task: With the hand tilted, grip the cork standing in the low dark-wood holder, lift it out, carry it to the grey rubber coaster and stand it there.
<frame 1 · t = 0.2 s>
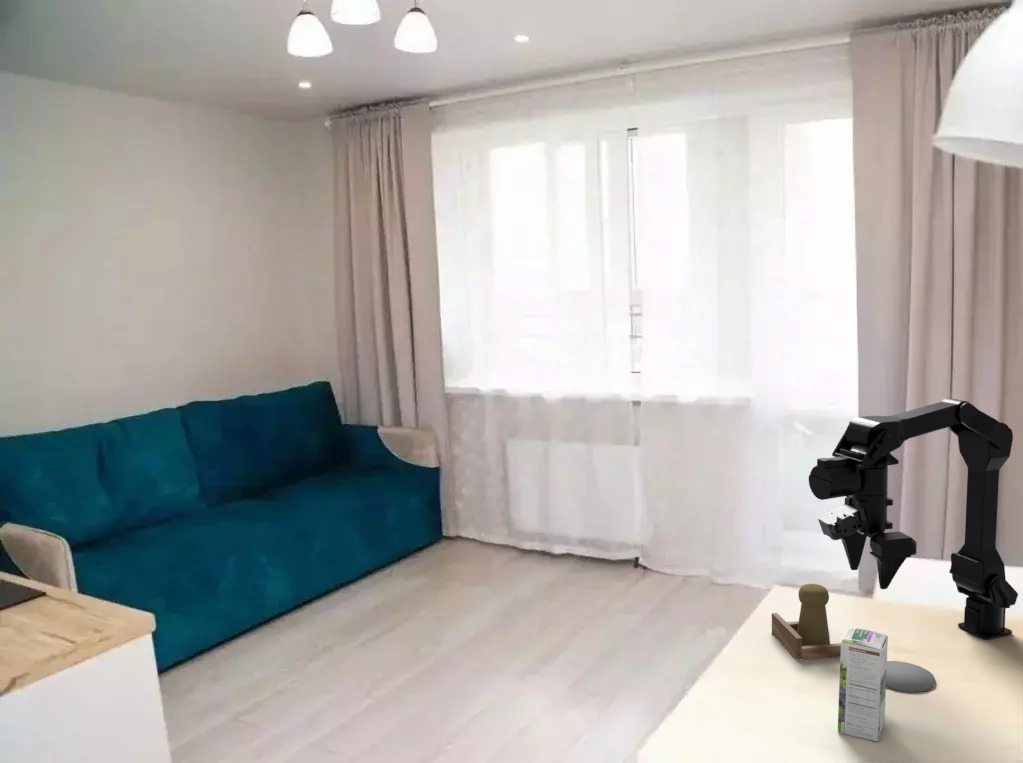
hand: (868, 579, 149), 14 cm above the table, tool pointing down, fingers open, 9 cm apart
cork: (812, 645, 157), on the table
coaster: (901, 677, 143), on the table
syrup box: (861, 730, 128), on the table
holder: (812, 644, 157), on the table
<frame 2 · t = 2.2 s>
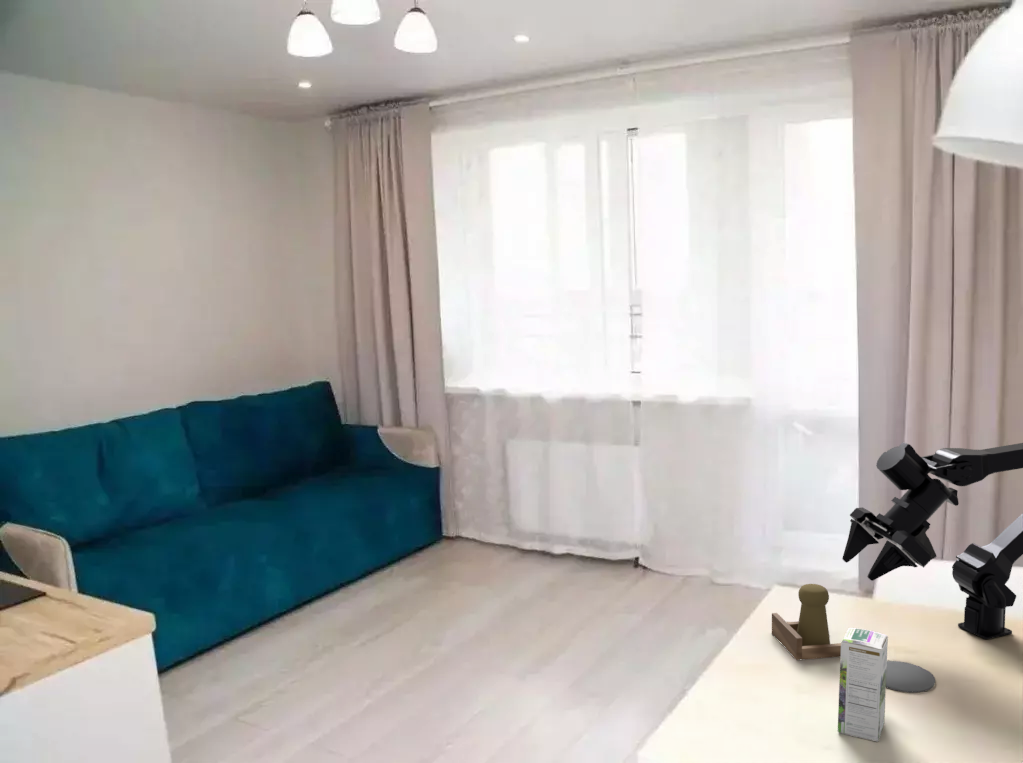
hand: (856, 569, 155), 13 cm above the table, tool tilted 45°, fingers open, 9 cm apart
nothing on the table moved.
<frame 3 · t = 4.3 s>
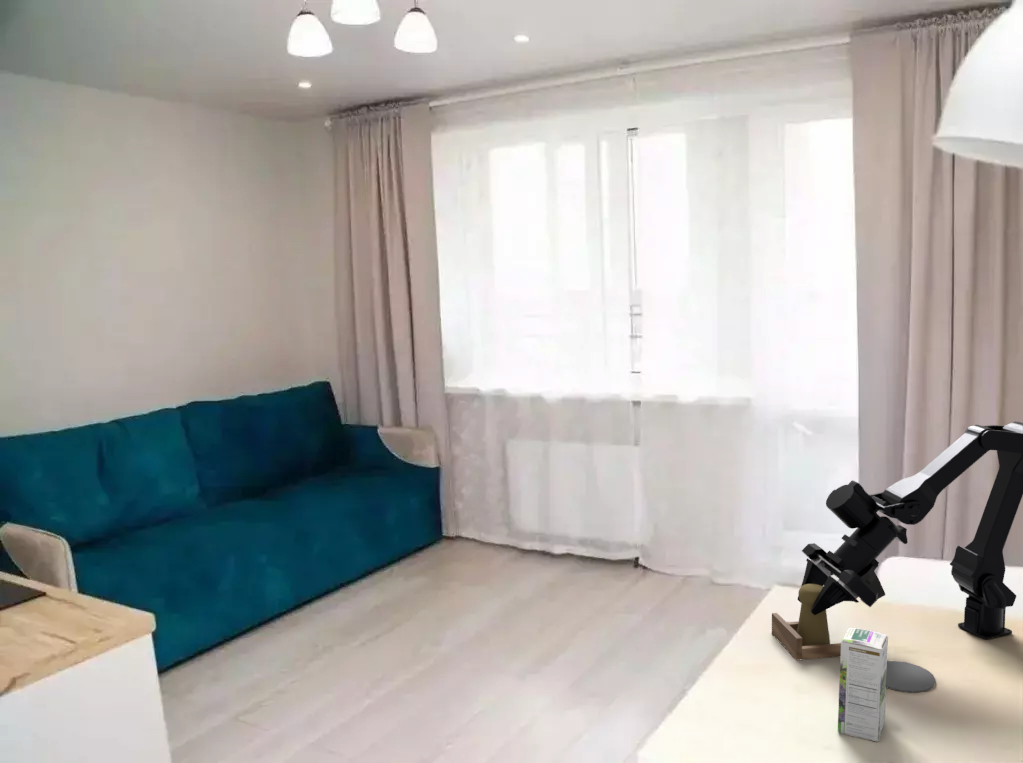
hand: (805, 607, 155), 7 cm above the table, tool tilted 45°, fingers closed on cork, 5 cm apart
cork: (812, 645, 157), on the table, touching gripper
everything else where it was.
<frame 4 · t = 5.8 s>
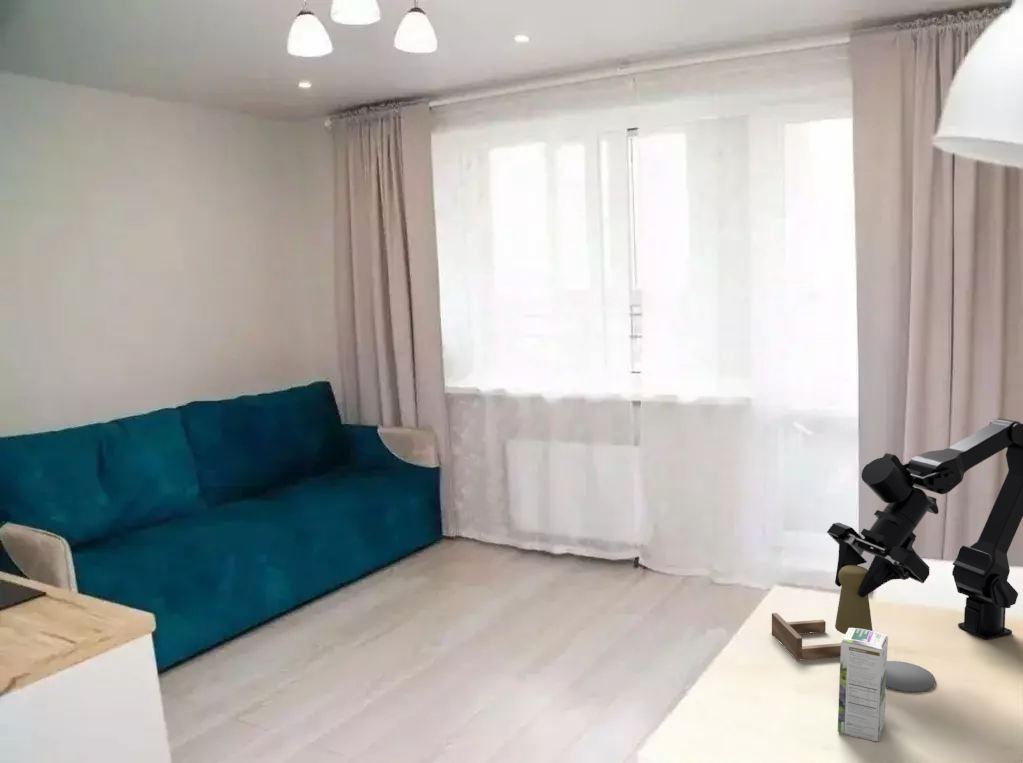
hand: (848, 590, 147), 13 cm above the table, tool tilted 45°, fingers closed on cork, 5 cm apart
cork: (853, 629, 149), point 6 cm above the table, touching gripper
everything else where it was.
when the fingers open (8 cm above the table, at t = 7.6 s): cork stays where it is, resting on coaster.
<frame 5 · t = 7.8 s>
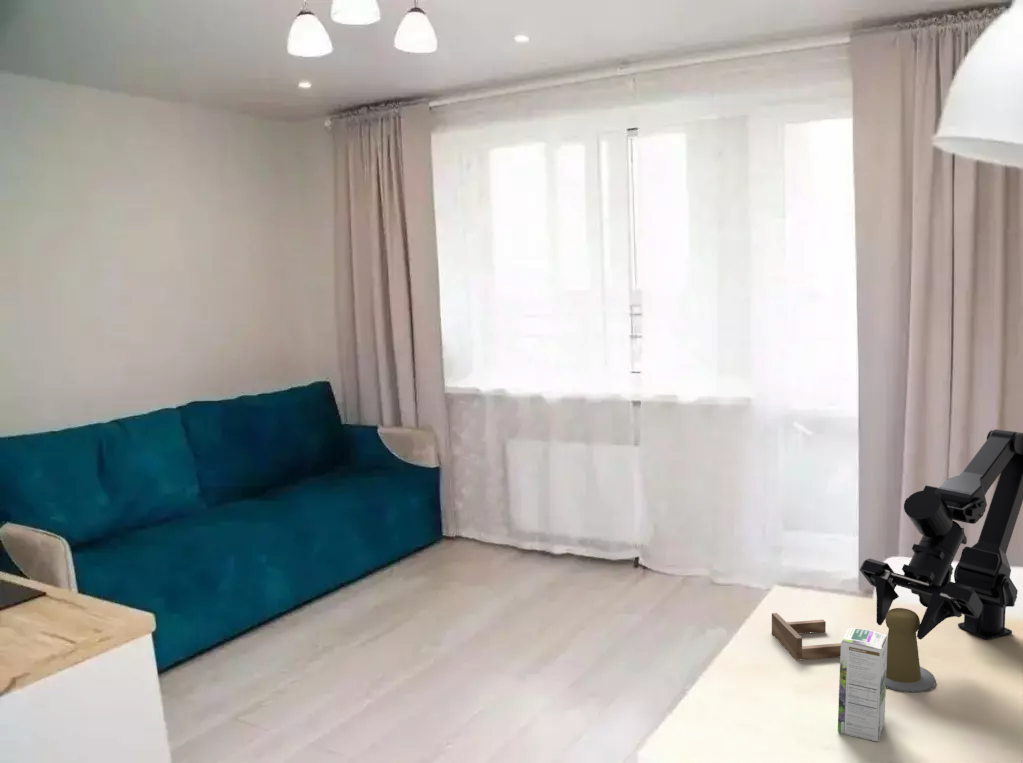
hand: (898, 631, 141), 9 cm above the table, tool tilted 45°, fingers open, 7 cm apart
cork: (901, 675, 143), resting on coaster
everything else where it was.
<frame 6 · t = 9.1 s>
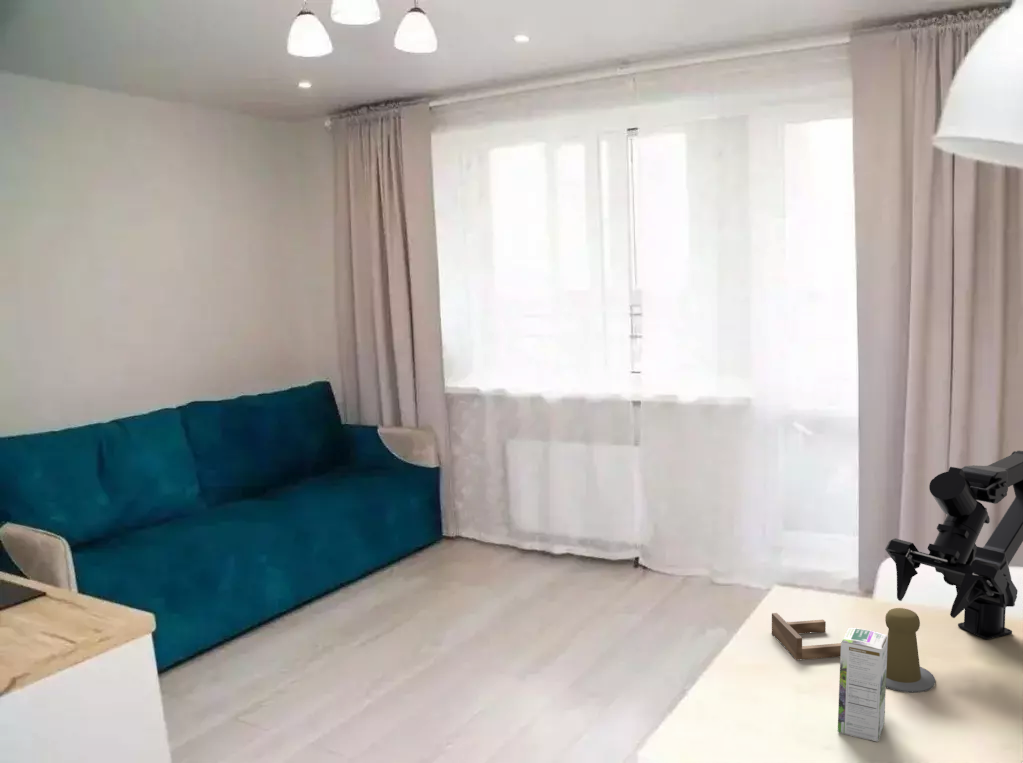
hand: (924, 608, 146), 10 cm above the table, tool tilted 45°, fingers open, 9 cm apart
nothing on the table moved.
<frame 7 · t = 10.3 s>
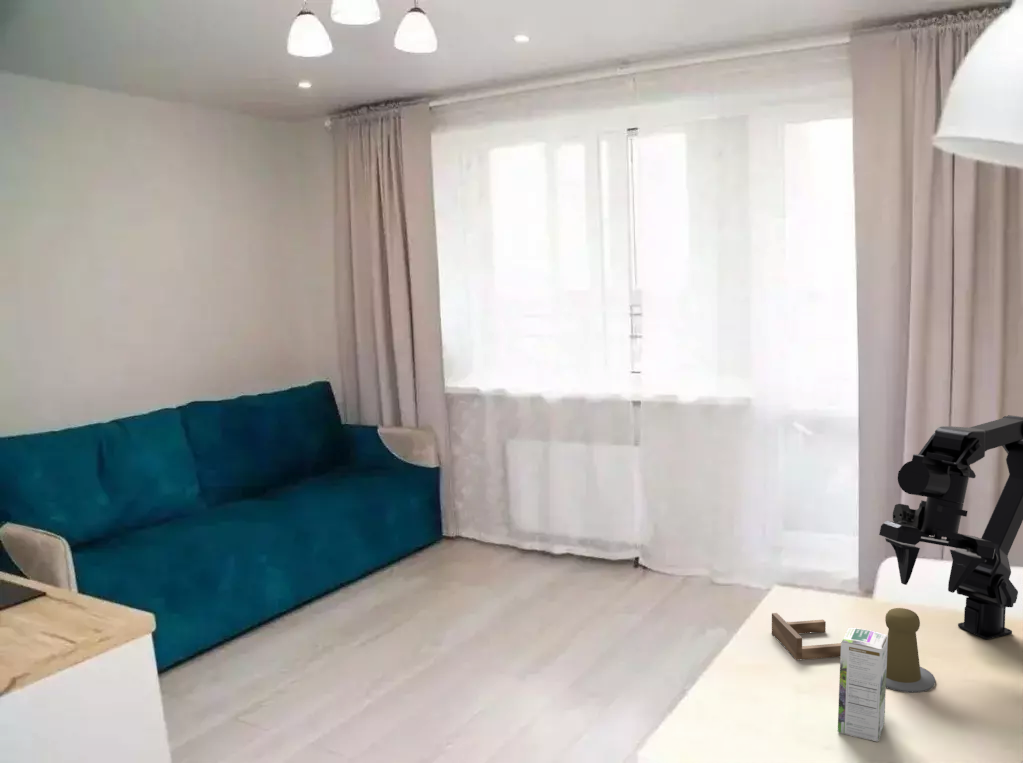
hand: (927, 588, 149), 12 cm above the table, tool tilted 15°, fingers open, 9 cm apart
nothing on the table moved.
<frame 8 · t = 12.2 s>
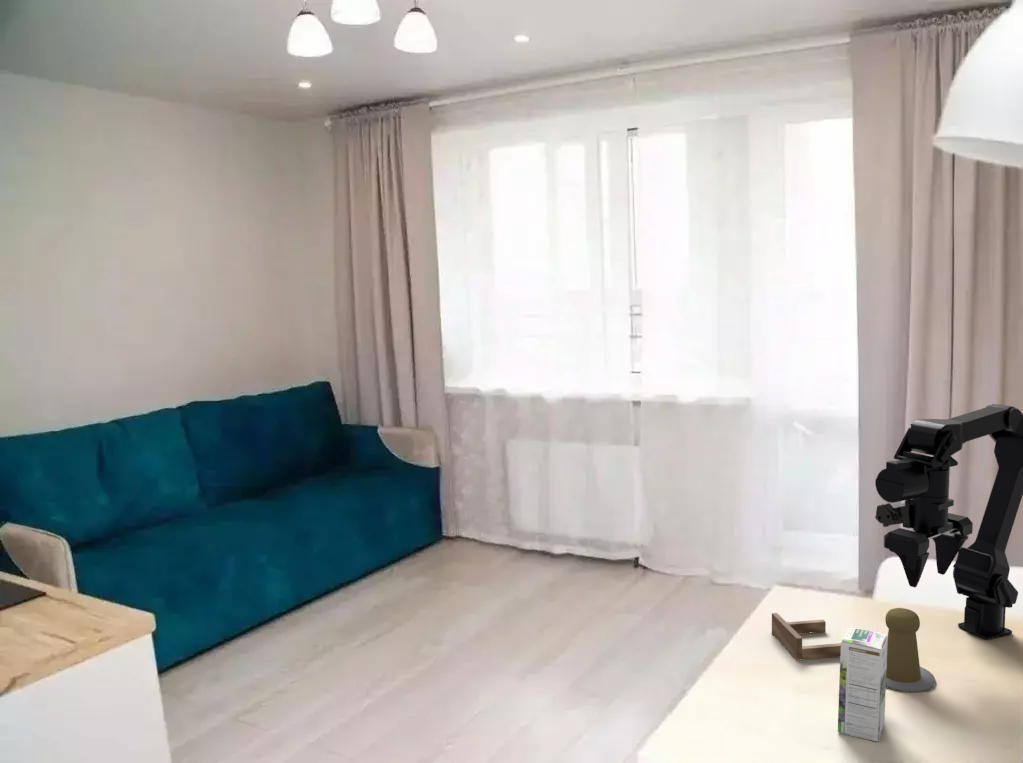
hand: (927, 580, 151), 13 cm above the table, tool pointing down, fingers open, 9 cm apart
nothing on the table moved.
at the end: cork 0.2 cm from the coaster (horizontally); cork tilted 0°; the gripper is holding nothing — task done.
